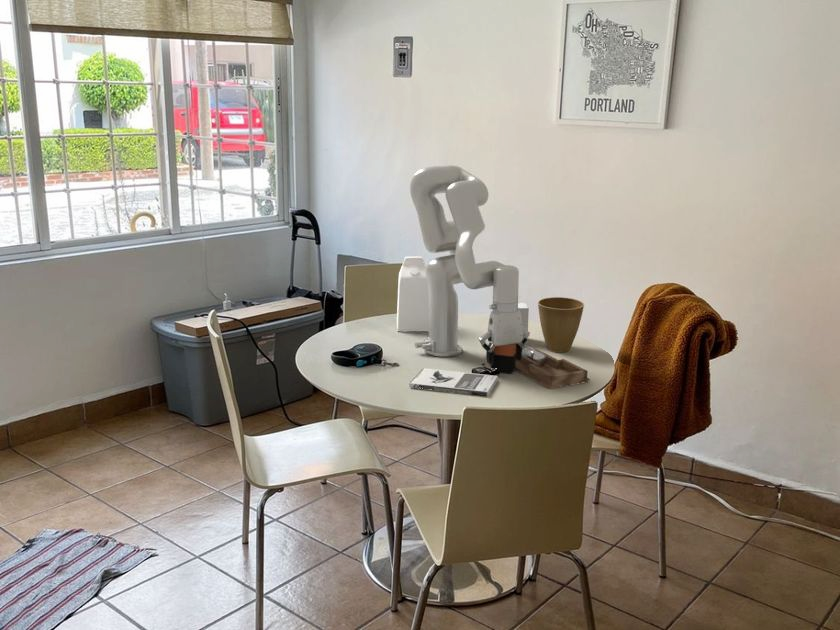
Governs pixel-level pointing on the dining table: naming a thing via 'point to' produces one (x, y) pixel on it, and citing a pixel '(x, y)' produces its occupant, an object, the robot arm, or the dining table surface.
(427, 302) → the milk
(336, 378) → the dining table surface
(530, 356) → the shaft
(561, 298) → the plant pot
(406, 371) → the dining table surface
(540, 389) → the dining table surface
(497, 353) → the battery
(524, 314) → the supplement box
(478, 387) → the book
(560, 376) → the tray
